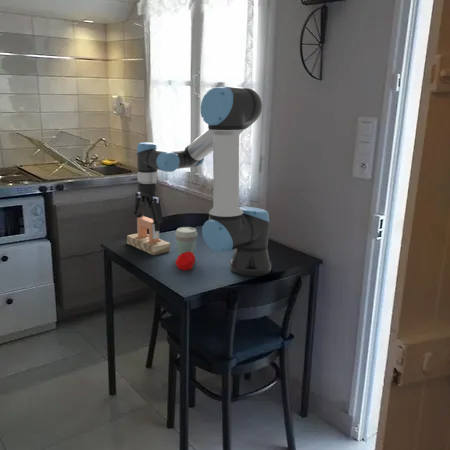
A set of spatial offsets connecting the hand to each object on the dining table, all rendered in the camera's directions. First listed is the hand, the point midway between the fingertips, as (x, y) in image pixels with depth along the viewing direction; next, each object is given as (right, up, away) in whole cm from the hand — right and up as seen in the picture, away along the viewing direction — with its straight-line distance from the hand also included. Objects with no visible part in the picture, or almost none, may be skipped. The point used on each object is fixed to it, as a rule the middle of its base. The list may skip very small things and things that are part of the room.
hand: (148, 235), depth 198 cm
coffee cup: (+16, -9, -11) cm, 22 cm away
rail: (0, -5, +1) cm, 5 cm away
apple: (+17, -12, -20) cm, 29 cm away
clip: (0, -3, +1) cm, 3 cm away
